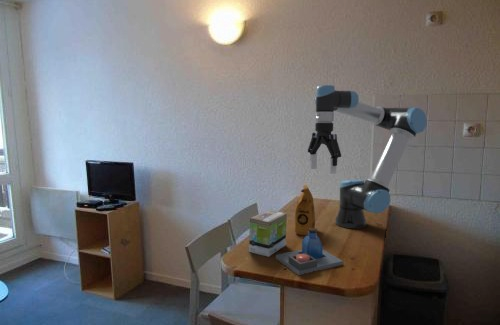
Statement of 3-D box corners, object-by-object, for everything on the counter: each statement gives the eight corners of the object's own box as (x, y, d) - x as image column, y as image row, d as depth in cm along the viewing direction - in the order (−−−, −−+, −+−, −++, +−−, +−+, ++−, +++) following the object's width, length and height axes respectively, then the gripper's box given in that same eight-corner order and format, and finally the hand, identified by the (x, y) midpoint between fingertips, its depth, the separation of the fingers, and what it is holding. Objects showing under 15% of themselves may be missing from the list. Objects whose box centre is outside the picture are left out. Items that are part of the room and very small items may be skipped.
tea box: (269, 257, 138) (270, 221, 136) (248, 252, 144) (248, 217, 141) (286, 245, 151) (287, 212, 149) (266, 240, 156) (266, 209, 154)
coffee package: (291, 234, 164) (292, 189, 161) (296, 226, 176) (297, 183, 172) (312, 237, 161) (314, 190, 158) (316, 228, 173) (317, 185, 169)
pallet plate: (317, 249, 146) (317, 240, 146) (342, 264, 132) (343, 254, 131) (275, 258, 138) (275, 248, 137) (298, 275, 123) (298, 264, 123)
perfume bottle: (301, 255, 140) (302, 226, 139) (316, 254, 141) (317, 226, 140) (306, 262, 134) (307, 232, 133) (322, 260, 135) (323, 231, 134)
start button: (304, 258, 132) (304, 253, 131) (312, 263, 127) (312, 258, 127) (293, 260, 130) (293, 255, 129) (300, 265, 125) (301, 260, 125)
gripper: (300, 121, 159) (299, 167, 162) (336, 123, 136) (334, 176, 139) (314, 121, 162) (312, 166, 165) (351, 122, 140) (349, 174, 143)
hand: (322, 171), depth 152 cm, fingers open, 13 cm apart
